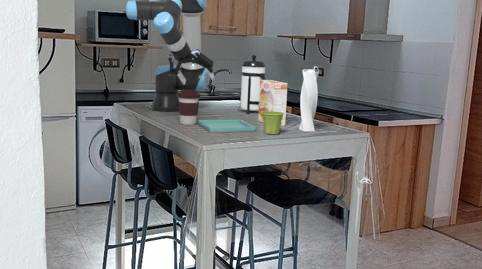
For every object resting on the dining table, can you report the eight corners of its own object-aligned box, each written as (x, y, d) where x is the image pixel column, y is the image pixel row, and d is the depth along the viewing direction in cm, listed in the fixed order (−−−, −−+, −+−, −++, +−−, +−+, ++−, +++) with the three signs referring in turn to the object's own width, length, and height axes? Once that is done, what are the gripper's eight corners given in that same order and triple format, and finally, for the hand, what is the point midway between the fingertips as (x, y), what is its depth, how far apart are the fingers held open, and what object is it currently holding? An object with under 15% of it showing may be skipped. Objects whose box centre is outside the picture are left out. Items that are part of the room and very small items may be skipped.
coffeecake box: (257, 120, 238) (259, 79, 234) (270, 120, 240) (273, 79, 237) (271, 126, 224) (274, 82, 220) (285, 125, 227) (288, 82, 223)
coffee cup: (181, 126, 214) (182, 91, 212) (173, 122, 223) (174, 88, 220) (203, 125, 219) (203, 91, 216) (194, 121, 228) (195, 88, 225)
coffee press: (232, 112, 261) (234, 54, 255) (243, 109, 275) (246, 54, 270) (263, 115, 255) (266, 56, 249) (273, 112, 269) (276, 55, 264)
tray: (197, 124, 221) (197, 120, 221) (240, 123, 228) (240, 119, 228) (210, 132, 203) (210, 128, 203) (256, 131, 210) (256, 127, 209)
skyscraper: (320, 132, 213) (325, 66, 208) (302, 133, 210) (307, 66, 205) (311, 129, 221) (316, 65, 215) (294, 129, 218) (299, 64, 213)
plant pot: (266, 136, 201) (267, 114, 199) (256, 131, 209) (257, 111, 207) (287, 135, 204) (288, 114, 203) (276, 131, 213) (277, 110, 211)
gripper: (149, 57, 206) (171, 90, 222) (204, 46, 198) (223, 81, 214) (152, 44, 211) (174, 78, 226) (207, 33, 202) (225, 68, 218)
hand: (198, 79), depth 220 cm, fingers open, 13 cm apart
